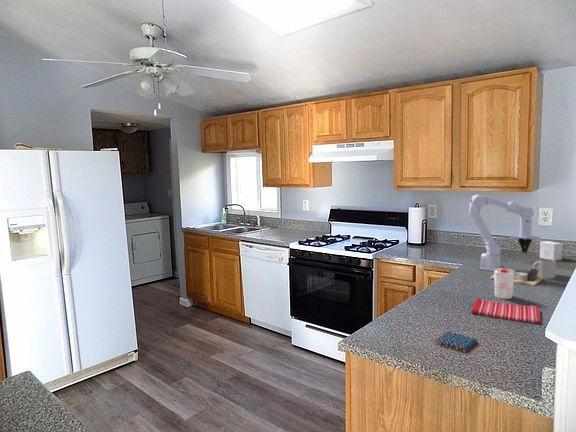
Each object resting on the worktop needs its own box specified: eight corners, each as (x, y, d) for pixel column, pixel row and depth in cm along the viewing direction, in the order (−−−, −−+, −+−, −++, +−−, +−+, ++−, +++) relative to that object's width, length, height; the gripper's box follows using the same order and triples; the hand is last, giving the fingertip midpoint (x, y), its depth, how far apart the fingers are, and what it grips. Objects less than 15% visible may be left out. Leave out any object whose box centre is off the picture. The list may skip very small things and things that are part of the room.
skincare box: (562, 260, 243) (562, 243, 242) (553, 260, 241) (554, 244, 240) (547, 256, 253) (548, 240, 252) (539, 257, 251) (539, 241, 250)
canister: (505, 300, 171) (506, 274, 170) (487, 295, 179) (488, 270, 177) (519, 297, 176) (520, 270, 174) (501, 292, 183) (502, 267, 182)
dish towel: (475, 303, 171) (476, 297, 171) (540, 311, 158) (540, 305, 158) (469, 315, 157) (470, 308, 157) (540, 326, 144) (540, 319, 144)
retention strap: (498, 271, 208) (498, 267, 208) (500, 270, 210) (500, 266, 210) (532, 276, 197) (532, 272, 197) (533, 275, 199) (534, 270, 199)
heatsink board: (490, 279, 205) (490, 268, 205) (500, 273, 216) (500, 262, 216) (534, 286, 191) (534, 274, 190) (542, 279, 202) (543, 268, 202)
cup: (554, 279, 201) (555, 262, 200) (531, 276, 207) (532, 260, 206) (555, 276, 207) (556, 259, 206) (533, 274, 213) (533, 257, 212)
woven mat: (447, 335, 138) (447, 329, 138) (478, 344, 131) (478, 338, 131) (433, 344, 131) (433, 339, 131) (466, 354, 124) (466, 348, 123)
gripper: (508, 228, 220) (508, 251, 222) (538, 230, 210) (537, 255, 211) (512, 226, 225) (512, 249, 227) (542, 228, 215) (541, 252, 216)
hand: (524, 252), depth 219 cm, fingers closed
